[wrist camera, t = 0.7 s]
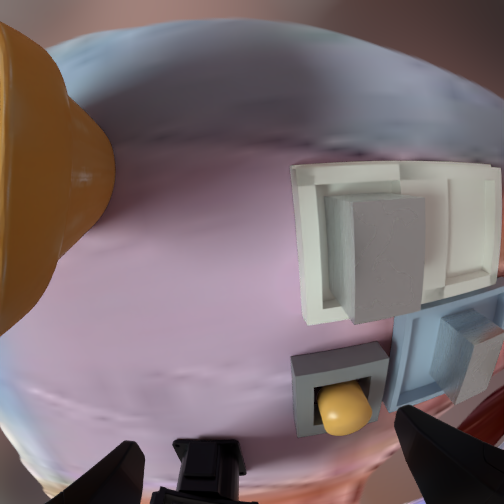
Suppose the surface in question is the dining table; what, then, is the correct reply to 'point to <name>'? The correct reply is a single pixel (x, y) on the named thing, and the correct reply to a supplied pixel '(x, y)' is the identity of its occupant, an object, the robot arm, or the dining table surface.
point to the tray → (430, 343)
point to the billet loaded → (376, 253)
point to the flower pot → (43, 173)
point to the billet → (465, 354)
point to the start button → (343, 407)
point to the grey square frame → (336, 381)
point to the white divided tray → (436, 217)
